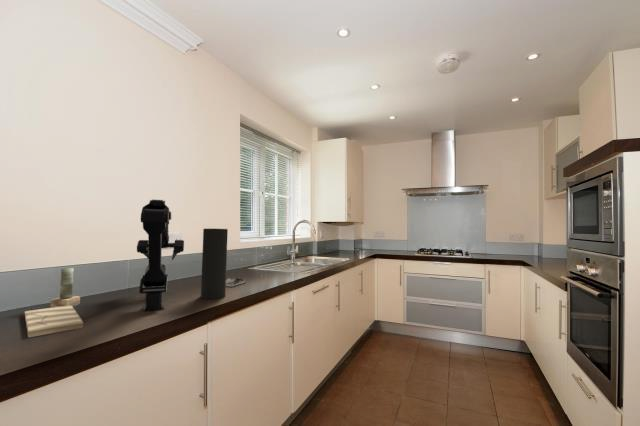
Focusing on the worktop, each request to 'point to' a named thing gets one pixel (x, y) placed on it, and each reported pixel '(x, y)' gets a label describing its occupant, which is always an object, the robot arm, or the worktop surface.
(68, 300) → the column on wooden base
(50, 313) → the birch board
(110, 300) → the worktop surface
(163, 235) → the robot arm
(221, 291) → the vase
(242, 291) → the worktop surface
